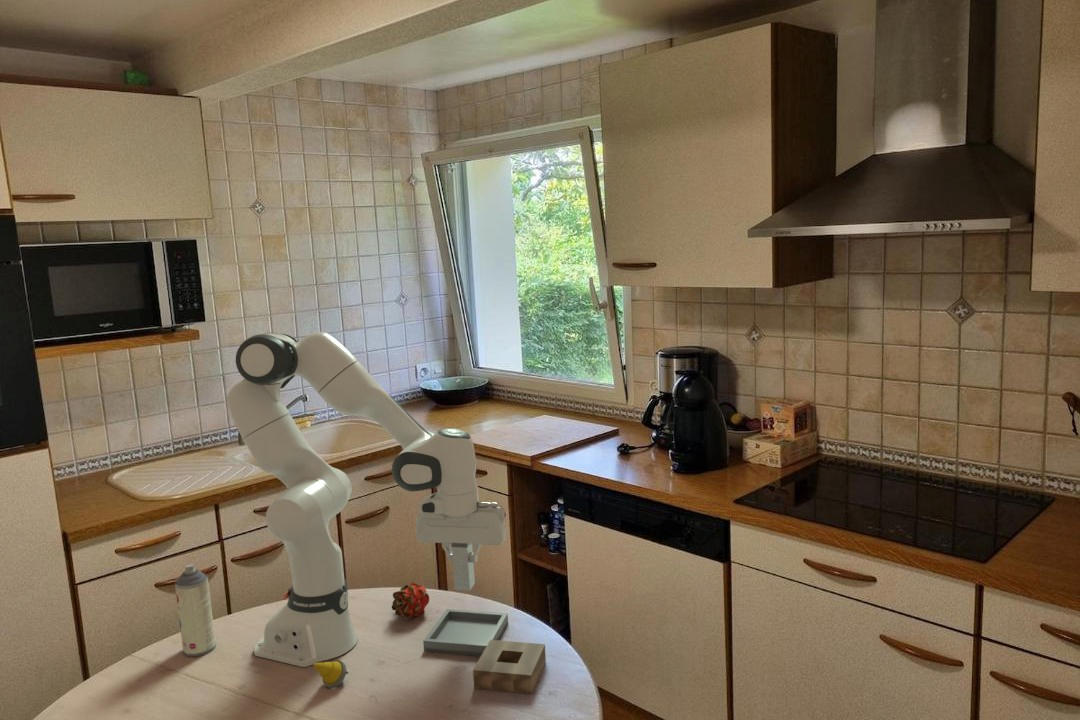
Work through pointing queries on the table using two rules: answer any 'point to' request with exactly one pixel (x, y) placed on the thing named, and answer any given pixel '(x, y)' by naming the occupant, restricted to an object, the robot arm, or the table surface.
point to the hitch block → (509, 666)
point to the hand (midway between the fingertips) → (463, 561)
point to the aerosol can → (195, 612)
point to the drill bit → (331, 672)
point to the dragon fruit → (410, 600)
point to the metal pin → (463, 566)
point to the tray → (465, 632)
